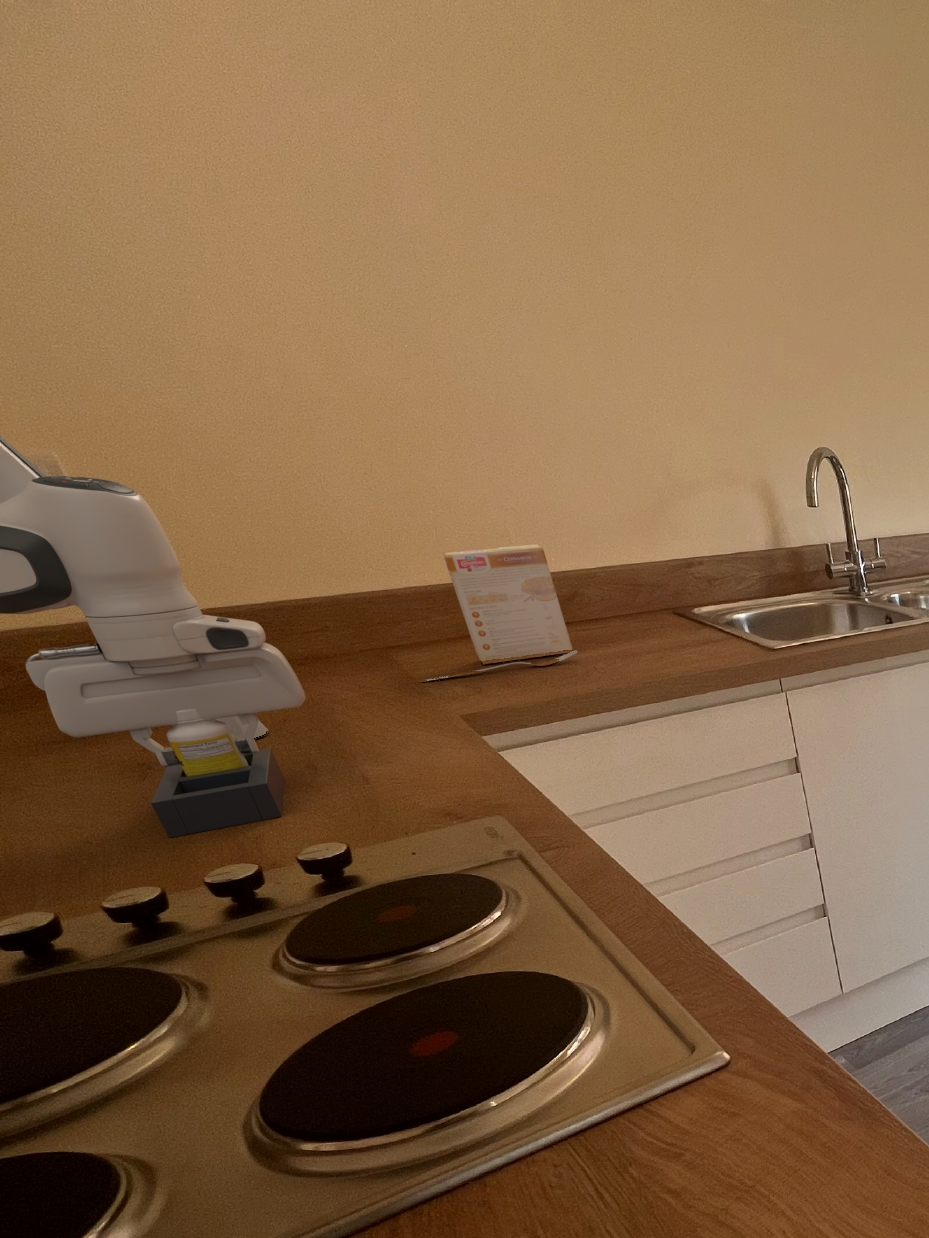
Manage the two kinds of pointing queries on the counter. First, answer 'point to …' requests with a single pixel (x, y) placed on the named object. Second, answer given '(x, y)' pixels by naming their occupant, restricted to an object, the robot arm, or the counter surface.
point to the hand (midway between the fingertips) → (212, 758)
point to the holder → (219, 796)
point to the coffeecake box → (508, 601)
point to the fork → (522, 663)
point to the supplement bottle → (204, 744)
